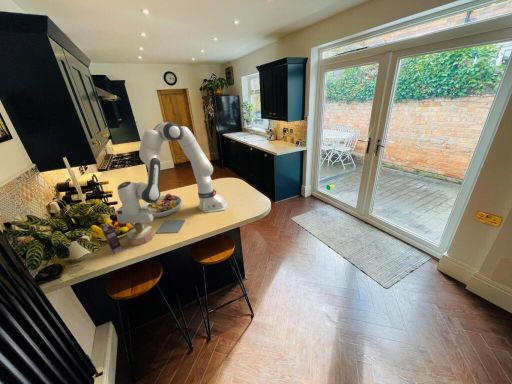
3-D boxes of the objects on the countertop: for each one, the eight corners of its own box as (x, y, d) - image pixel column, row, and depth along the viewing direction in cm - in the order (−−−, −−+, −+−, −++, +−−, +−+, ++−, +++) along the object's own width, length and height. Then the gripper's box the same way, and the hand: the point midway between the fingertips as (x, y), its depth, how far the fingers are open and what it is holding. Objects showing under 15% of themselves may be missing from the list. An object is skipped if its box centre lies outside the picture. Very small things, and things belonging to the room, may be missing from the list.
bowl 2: (174, 219, 155) (171, 210, 152) (134, 219, 158) (131, 210, 154) (188, 200, 182) (186, 191, 179) (154, 200, 185) (152, 192, 181)
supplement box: (109, 248, 129) (99, 226, 122) (118, 243, 132) (109, 222, 125) (114, 254, 123) (104, 231, 117) (123, 249, 127) (114, 227, 120)
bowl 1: (158, 231, 142) (156, 226, 141) (147, 244, 130) (146, 239, 128) (137, 231, 143) (135, 226, 141) (125, 245, 130) (123, 240, 129)
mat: (185, 220, 153) (185, 219, 153) (178, 232, 139) (177, 232, 139) (164, 220, 154) (164, 220, 153) (155, 233, 140) (155, 232, 140)
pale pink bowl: (156, 226, 141) (154, 217, 138) (145, 239, 128) (143, 230, 125) (135, 225, 141) (132, 217, 138) (122, 239, 128) (119, 230, 125)
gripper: (152, 205, 129) (157, 224, 135) (119, 206, 130) (126, 225, 136) (146, 210, 124) (153, 230, 130) (112, 211, 125) (120, 231, 131)
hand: (139, 227), depth 133 cm, fingers closed on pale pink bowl, 3 cm apart
